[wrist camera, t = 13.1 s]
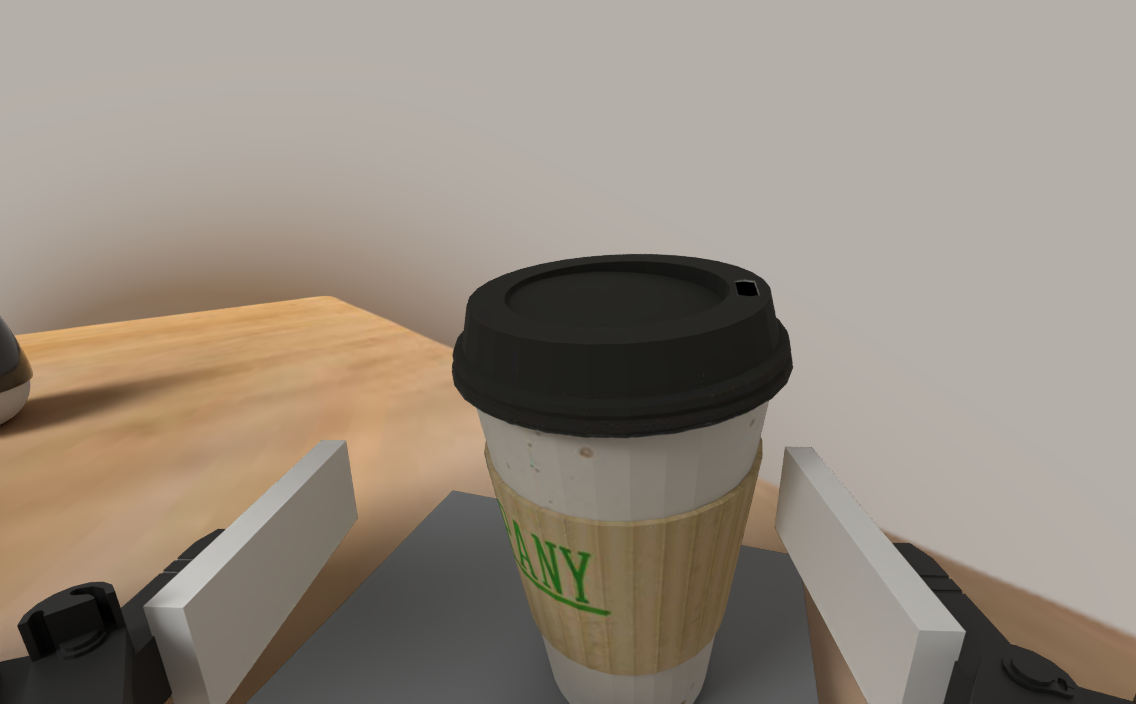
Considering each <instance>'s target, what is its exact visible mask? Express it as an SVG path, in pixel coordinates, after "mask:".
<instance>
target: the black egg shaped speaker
mask: <svg viewBox="0 0 1136 704" xmlns="http://www.w3.org/2000/svg"><path fill="white" fill-rule="evenodd" d="M32 377H33V371H32V368H31V365H30V363H29V361H28V359H27V357H26V355H25V353H24V351H23V350H22V348H21V346H20V344H19V343H18V341H17V339H16V338H15V336H14V335H13V333H12V331H11V330H10V328H9V327H8V326H7V324H6V323H5V322H4V320H3V319H2V318H1V316H0V425H1V424H2V423H4V422H6V421H7V420H9V419H11V418H12V417H13V416H15V415H16V414H17V413H18V412H19V411H20V410H21V409H22V407H23V406H24V404H25V403H26V401H27V399H28V396H29V392H30V379H31V378H32Z"/></svg>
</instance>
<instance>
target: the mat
mask: <svg viewBox="0 0 1136 704" xmlns="http://www.w3.org/2000/svg"><path fill="white" fill-rule="evenodd" d="M246 704H570V703H569V702H568V701H567V699H566V698H565V697H564V696H563V694H562V693H561V691H560V689H559V687H558V685H557V683H556V681H555V679H554V675H553V672H552V668H551V665H550V661H549V658H548V654H547V651H546V647H545V644H544V640H543V637H542V634H541V632H540V630H539V629H538V627H537V625H536V623H535V621H534V619H533V617H532V614H531V611H530V607H529V604H528V601H527V597H526V594H525V591H524V587H523V584H522V581H521V577H520V574H519V571H518V567H517V564H516V561H515V557H514V554H513V551H512V547H511V544H510V541H509V537H508V534H507V531H506V527H505V524H504V520H503V517H502V514H501V510H500V507H499V504H498V500H497V499H495V498H490V497H485V496H479V495H474V494H469V493H464V492H458V491H452V492H451V493H450V494H449V495H448V496H447V497H446V498H445V499H444V500H443V501H442V502H441V503H440V504H439V505H438V506H437V507H436V508H435V509H434V510H433V511H432V512H431V513H430V514H429V515H428V516H427V517H426V518H425V519H424V521H423V522H422V523H421V524H420V525H419V526H418V527H417V528H416V529H415V530H414V531H413V532H412V533H411V534H410V535H409V536H408V537H407V538H406V539H405V540H404V541H403V542H402V543H401V544H400V545H399V546H398V547H397V548H396V549H395V550H394V551H393V552H392V553H391V554H390V556H389V557H388V558H387V559H386V560H385V561H384V562H383V563H382V564H381V565H380V566H379V567H378V568H377V569H376V570H375V571H374V572H373V573H372V574H371V575H370V576H369V577H368V578H367V579H366V580H365V581H364V582H363V583H362V584H361V585H360V586H359V587H358V588H357V589H356V591H355V592H354V593H353V594H352V595H351V596H350V597H349V598H348V599H347V600H346V601H345V602H344V603H343V604H342V605H341V606H340V607H339V608H338V609H337V610H336V611H335V612H334V613H333V614H332V615H331V616H330V617H329V618H328V619H327V620H326V621H325V622H324V623H323V624H322V626H321V627H320V628H319V629H318V630H317V631H316V632H315V633H314V634H313V635H312V636H311V637H310V638H309V639H308V640H307V641H306V642H305V643H304V644H303V645H302V646H301V647H300V648H299V649H298V650H297V651H296V652H295V653H294V654H293V655H292V656H291V657H290V658H289V659H288V661H287V662H286V663H285V664H284V665H283V666H282V667H281V668H280V669H279V670H278V671H277V672H276V673H275V674H274V675H273V676H272V677H271V678H270V679H269V680H268V681H267V682H266V683H265V684H264V685H263V686H262V687H261V688H260V689H259V690H258V691H257V692H256V693H255V694H254V696H253V697H252V698H251V699H250V700H249V701H248V702H247V703H246ZM693 704H819V702H818V694H817V687H816V679H815V672H814V664H813V657H812V649H811V641H810V634H809V626H808V619H807V611H806V604H805V596H804V589H803V581H802V578H801V576H800V574H799V572H798V570H797V568H796V566H795V565H794V563H793V561H792V559H791V557H790V555H789V554H785V553H780V552H775V551H769V550H764V549H759V548H754V547H748V546H743V545H741V547H740V551H739V556H738V560H737V564H736V568H735V572H734V576H733V580H732V585H731V589H730V593H729V597H728V601H727V605H726V610H725V613H724V616H723V619H722V622H721V625H720V628H719V629H718V631H717V632H716V634H715V637H714V642H713V646H712V651H711V655H710V659H709V664H708V668H707V672H706V677H705V680H704V683H703V686H702V689H701V691H700V693H699V695H698V696H697V698H696V699H695V701H694V703H693Z"/></svg>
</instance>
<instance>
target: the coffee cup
mask: <svg viewBox="0 0 1136 704" xmlns="http://www.w3.org/2000/svg"><path fill="white" fill-rule="evenodd" d="M453 360H454V361H453V364H452V374H453V380H454V385H455V387H456V388H457V390H458V391H459V392H460V394H461V395H462V397H463V398H464V399H465V400H466V401H468V402H469V403H470V404H472V405H473V406H474V407H476V408H477V411H478V415H479V418H480V422H481V425H482V428H483V432H484V435H485V439H486V444H485V451H484V454H485V458H486V462H487V467H488V470H489V474H490V477H491V480H492V484H493V487H494V490H495V494H496V497H497V500H498V504H499V507H500V510H501V514H502V517H503V520H504V524H505V527H506V531H507V534H508V537H509V541H510V544H511V547H512V551H513V554H514V557H515V561H516V564H517V567H518V571H519V574H520V577H521V581H522V584H523V587H524V591H525V594H526V597H527V601H528V604H529V607H530V611H531V614H532V617H533V619H534V621H535V623H536V625H537V627H538V629H539V630H540V632H541V634H542V637H543V640H544V644H545V647H546V651H547V654H548V658H549V661H550V665H551V668H552V672H553V675H554V679H555V681H556V683H557V685H558V687H559V689H560V691H561V693H562V694H563V696H564V697H565V698H566V699H567V701H568V702H569V703H570V704H693V703H694V701H695V699H696V698H697V696H698V695H699V693H700V691H701V689H702V686H703V683H704V680H705V677H706V672H707V668H708V664H709V659H710V655H711V651H712V646H713V642H714V637H715V634H716V632H717V631H718V629H719V628H720V625H721V622H722V619H723V616H724V613H725V610H726V605H727V601H728V597H729V593H730V589H731V585H732V580H733V576H734V572H735V568H736V564H737V560H738V556H739V551H740V547H741V543H742V539H743V535H744V531H745V527H746V522H747V518H748V514H749V510H750V506H751V502H752V498H753V493H754V489H755V485H756V481H757V477H758V472H759V469H760V464H761V460H762V439H761V432H762V428H763V423H764V419H765V415H766V411H767V407H768V402H769V400H771V399H772V398H773V397H774V396H775V395H776V394H777V393H778V392H779V391H780V390H781V389H782V388H783V387H784V386H785V385H786V384H787V382H788V379H789V377H790V374H791V372H792V369H793V365H792V356H791V347H790V340H789V335H788V332H787V330H786V329H785V327H784V326H783V325H782V323H781V322H780V320H779V319H777V318H776V315H775V310H774V305H773V300H772V295H771V289H770V287H769V286H768V284H767V283H766V282H765V281H764V279H762V278H761V277H759V276H757V275H756V274H754V273H753V272H750V271H748V270H745V269H743V268H740V267H738V266H734V265H730V264H727V263H723V262H719V261H713V260H708V259H702V258H695V257H686V256H676V255H658V254H625V255H624V254H623V255H603V256H591V257H582V258H574V259H566V260H560V261H555V262H549V263H544V264H539V265H535V266H531V267H527V268H523V269H520V270H517V271H514V272H511V273H507V274H505V275H502V276H500V277H498V278H495V279H493V280H491V281H489V282H487V283H486V284H484V285H483V286H481V287H479V288H478V289H477V290H476V291H475V292H474V293H473V294H472V295H471V296H470V297H469V300H468V303H467V307H466V316H465V324H464V331H463V332H462V333H461V334H460V336H459V337H458V338H457V341H456V344H455V347H454V351H453Z"/></svg>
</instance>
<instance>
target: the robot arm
mask: <svg viewBox="0 0 1136 704" xmlns="http://www.w3.org/2000/svg"><path fill="white" fill-rule="evenodd" d="M357 519H358V515H357V509H356V502H355V495H354V489H353V482H352V476H351V469H350V462H349V456H348V449H347V443H346V440H321V441H320V442H319V443H318V444H317V445H316V446H315V447H314V448H313V449H312V450H311V451H309V452H308V453H307V454H306V455H305V456H304V457H303V458H302V459H301V460H300V461H299V462H298V463H297V464H295V465H294V466H293V467H292V468H291V469H290V470H289V471H288V472H287V473H286V474H285V475H284V476H283V477H282V478H280V479H279V480H278V481H277V482H276V483H275V484H274V485H273V486H272V487H271V488H270V489H269V490H268V491H266V492H265V493H264V494H263V495H262V496H261V497H260V498H259V499H258V500H257V501H256V502H255V503H254V504H253V505H251V506H250V507H249V508H248V509H247V510H246V511H245V512H244V513H243V514H242V515H241V516H240V517H239V518H237V519H236V520H235V521H234V522H233V523H232V524H231V525H230V526H229V527H228V528H227V529H217V530H215V531H214V532H212V533H210V534H208V535H207V536H205V537H203V538H201V539H200V540H198V541H196V542H195V543H194V544H192V545H191V546H190V547H189V548H188V549H187V550H186V551H185V552H184V553H182V554H181V555H180V556H179V557H178V560H177V561H173V562H172V563H171V564H170V565H169V566H168V567H167V568H166V569H164V572H163V574H159V575H158V576H157V577H155V578H154V579H153V580H152V581H151V582H150V583H149V584H148V585H147V586H145V587H144V588H143V589H142V590H141V591H140V592H139V593H138V594H136V595H135V596H134V597H133V598H132V599H131V600H130V601H129V602H127V603H126V604H125V605H124V606H123V607H122V608H120V605H119V602H118V599H117V596H116V593H115V590H114V588H113V585H111V584H108V583H105V582H89V583H85V584H81V585H77V586H73V587H70V588H68V589H66V590H63V591H61V592H58V593H56V594H54V595H52V596H50V597H48V598H47V599H45V600H43V601H42V602H40V603H38V604H37V605H35V606H34V607H33V608H32V609H31V610H29V611H28V612H27V613H26V614H25V615H24V616H23V617H22V619H21V620H20V622H19V623H18V625H17V627H18V629H19V631H20V634H21V636H22V639H23V641H24V644H25V646H26V648H27V651H28V653H29V656H26V657H21V658H16V659H12V660H7V661H2V662H0V704H164V703H165V702H166V701H167V699H168V698H169V697H170V696H171V697H172V700H173V704H226V703H227V701H228V700H229V699H230V697H231V696H232V694H233V693H234V692H235V690H236V689H237V687H238V686H239V685H240V683H241V682H242V680H243V679H244V678H245V676H246V675H247V673H248V672H249V671H250V669H251V668H252V666H253V665H254V664H255V662H256V661H257V659H258V658H259V656H260V655H261V654H262V652H263V651H264V649H265V648H266V647H267V645H268V644H269V642H270V641H271V640H272V638H273V637H274V635H275V634H276V633H277V631H278V630H279V628H280V627H281V626H282V624H283V623H284V621H285V620H286V619H287V617H288V616H289V614H290V613H291V612H292V610H293V609H294V607H295V606H296V604H297V603H298V602H299V600H300V599H301V597H302V596H303V595H304V593H305V592H306V590H307V589H308V588H309V586H310V585H311V583H312V582H313V581H314V579H315V578H316V576H317V575H318V574H319V572H320V571H321V569H322V568H323V567H324V565H325V564H326V562H327V561H328V560H329V558H330V557H331V555H332V554H333V553H334V551H335V550H336V548H337V547H338V545H339V544H340V543H341V541H342V540H343V538H344V537H345V536H346V534H347V533H348V531H349V530H350V529H351V527H352V526H353V524H354V523H355V522H356V520H357ZM775 529H776V531H777V532H778V534H779V536H780V538H781V540H782V542H783V544H784V546H785V548H786V549H787V551H788V553H789V555H790V557H791V559H792V561H793V563H794V565H795V566H796V568H797V570H798V572H799V574H800V576H801V578H802V580H803V582H804V583H805V585H806V587H807V589H808V591H809V593H810V595H811V597H812V599H813V600H814V602H815V604H816V606H817V608H818V610H819V612H820V614H821V616H822V617H823V619H824V621H825V623H826V625H827V627H828V629H829V631H830V633H831V634H832V636H833V638H834V640H835V642H836V644H837V646H838V648H839V650H840V651H841V653H842V655H843V657H844V659H845V661H846V663H847V665H848V667H849V668H850V670H851V672H852V674H853V676H854V678H855V680H856V682H857V684H858V685H859V687H860V689H861V691H862V693H863V695H864V697H865V699H866V701H867V702H868V704H1136V695H1135V697H1134V699H1133V701H1129V700H1126V699H1122V698H1118V697H1114V696H1111V695H1107V694H1103V693H1100V692H1096V691H1092V690H1088V689H1085V688H1082V687H1079V686H1077V684H1076V683H1075V682H1074V681H1073V680H1072V679H1071V677H1070V676H1069V675H1068V674H1067V673H1066V672H1065V671H1063V670H1062V669H1061V668H1059V667H1058V666H1057V665H1055V664H1054V663H1053V662H1052V661H1050V660H1048V659H1046V658H1044V657H1042V656H1041V655H1039V654H1037V653H1035V652H1033V651H1030V650H1027V649H1025V648H1022V647H1019V646H1016V645H1011V644H1010V643H1009V642H1008V641H1007V639H1006V638H1005V637H1004V636H1003V635H1002V634H1001V633H1000V632H999V631H998V630H997V628H996V627H995V626H994V625H993V624H992V623H991V622H990V621H989V620H988V619H987V617H986V616H985V615H984V614H983V613H982V612H981V611H980V610H979V609H978V608H977V606H976V605H975V604H974V603H973V602H972V601H971V600H970V599H969V598H968V597H967V595H966V594H962V590H961V589H960V588H959V587H958V586H957V584H956V583H955V582H954V581H953V580H952V579H949V576H948V575H947V573H946V572H945V571H944V570H943V569H942V568H941V567H940V566H939V565H938V564H937V563H936V561H935V560H934V559H933V558H931V557H930V556H928V555H927V554H925V553H924V552H922V551H921V550H919V549H918V548H916V547H915V546H913V545H912V544H910V543H891V541H890V540H889V539H888V538H887V537H886V535H885V534H884V533H883V532H882V531H881V529H880V528H879V527H878V526H877V525H876V523H875V522H874V521H873V520H872V519H871V517H870V516H869V515H868V514H867V513H866V511H865V510H864V509H863V508H862V507H861V506H860V504H859V503H858V502H857V501H856V499H855V498H854V497H853V496H852V495H851V494H850V492H849V491H848V490H847V489H846V488H845V486H844V485H843V484H842V483H841V482H840V480H839V479H838V478H837V477H836V476H835V474H834V473H833V472H832V471H831V470H830V468H829V467H828V466H827V465H826V464H825V462H824V461H823V460H822V459H821V458H820V456H819V455H818V454H817V453H816V452H815V450H814V449H813V448H812V447H785V452H784V459H783V467H782V476H781V482H780V490H779V498H778V506H777V513H776V521H775Z"/></svg>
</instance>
